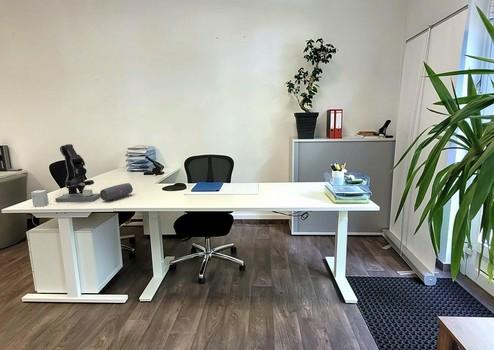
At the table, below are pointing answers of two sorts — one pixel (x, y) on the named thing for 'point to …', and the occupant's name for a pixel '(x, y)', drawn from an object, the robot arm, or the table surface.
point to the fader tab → (87, 192)
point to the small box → (40, 198)
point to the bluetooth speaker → (116, 192)
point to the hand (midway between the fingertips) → (81, 194)
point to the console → (77, 198)
